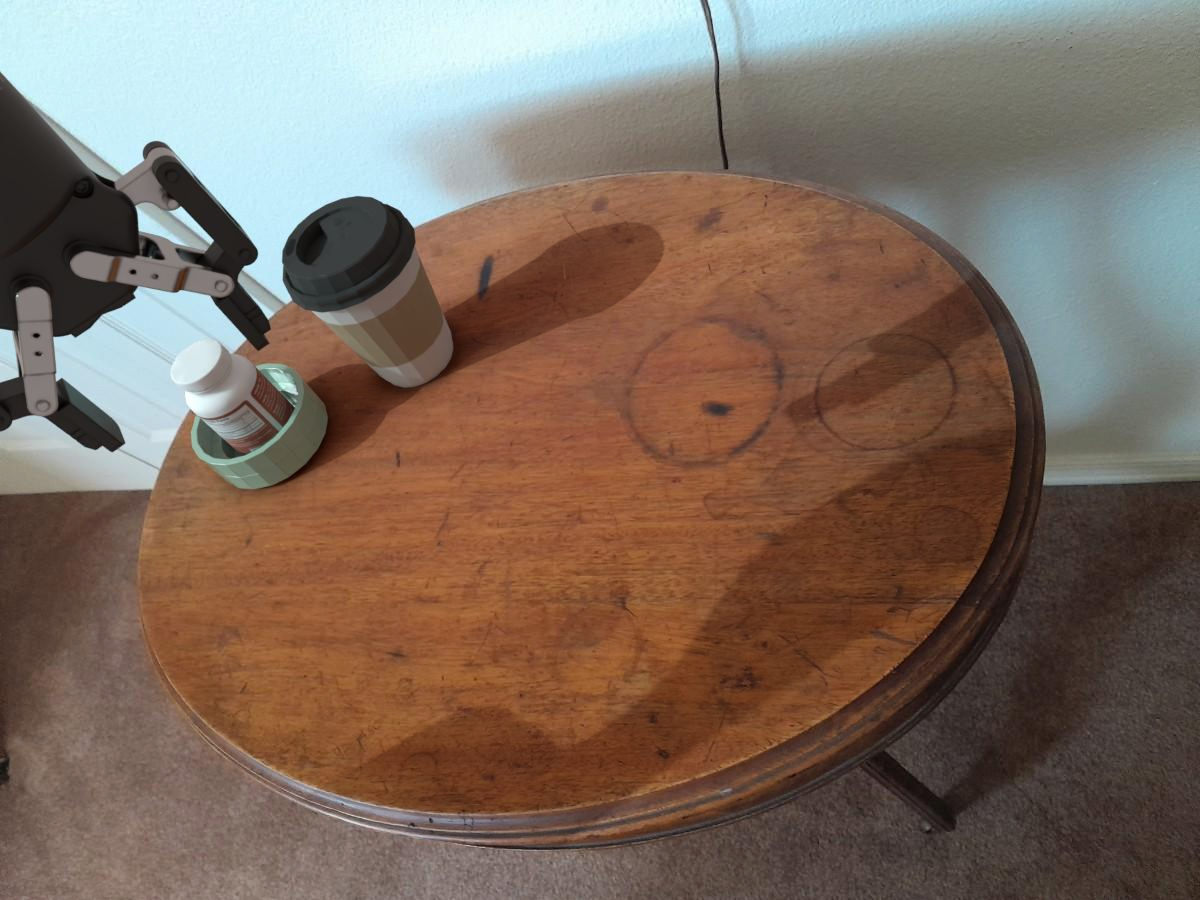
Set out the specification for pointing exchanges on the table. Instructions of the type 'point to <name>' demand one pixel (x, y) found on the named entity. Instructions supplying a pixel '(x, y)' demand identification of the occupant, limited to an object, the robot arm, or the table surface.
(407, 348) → the coffee cup
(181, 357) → the pill bottle
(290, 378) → the bowl
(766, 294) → the table surface
